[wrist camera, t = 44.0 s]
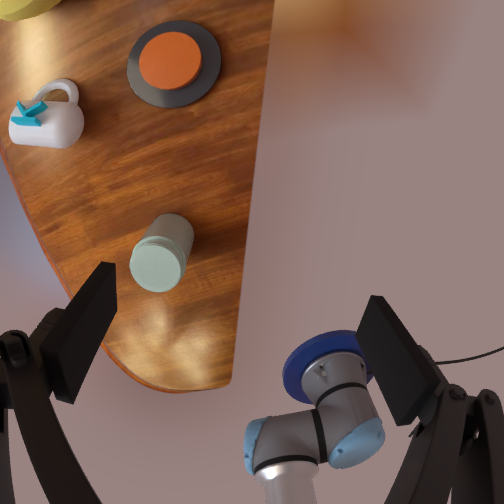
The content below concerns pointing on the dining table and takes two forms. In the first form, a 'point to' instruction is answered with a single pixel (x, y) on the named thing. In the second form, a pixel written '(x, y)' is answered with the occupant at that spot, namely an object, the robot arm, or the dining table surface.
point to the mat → (192, 90)
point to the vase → (24, 8)
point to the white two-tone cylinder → (48, 118)
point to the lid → (170, 61)
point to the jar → (162, 253)
